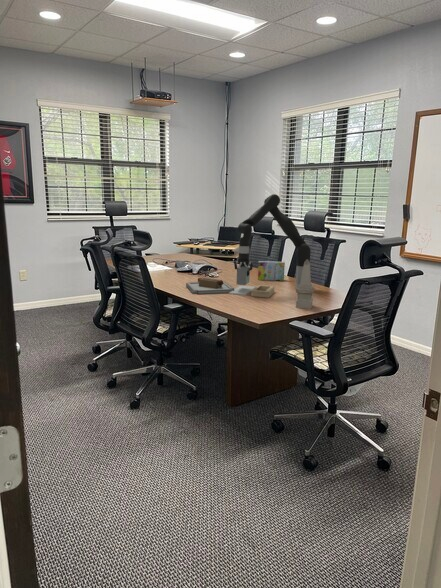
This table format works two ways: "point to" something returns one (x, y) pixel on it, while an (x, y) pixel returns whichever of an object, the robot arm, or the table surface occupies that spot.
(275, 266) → the snack box
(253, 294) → the carton
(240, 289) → the mat
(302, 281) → the miniature monument
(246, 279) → the box
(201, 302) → the table surface
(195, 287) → the gray tray
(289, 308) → the table surface
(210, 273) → the table surface
